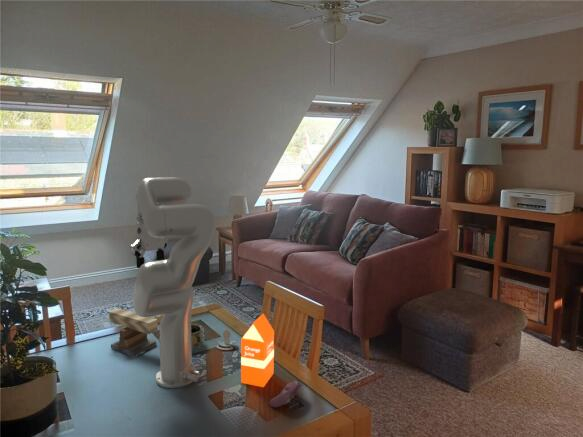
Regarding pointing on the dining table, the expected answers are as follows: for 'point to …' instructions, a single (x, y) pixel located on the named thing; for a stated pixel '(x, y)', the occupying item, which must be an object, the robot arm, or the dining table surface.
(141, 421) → the dining table surface
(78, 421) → the dining table surface
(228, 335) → the pacifier
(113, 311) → the pine batten
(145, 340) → the ridge stand
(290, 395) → the purple oblong lump
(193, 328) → the vessel
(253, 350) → the orange juice
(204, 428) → the dining table surface
